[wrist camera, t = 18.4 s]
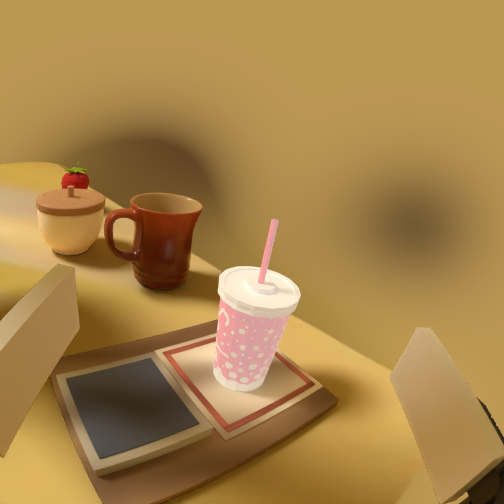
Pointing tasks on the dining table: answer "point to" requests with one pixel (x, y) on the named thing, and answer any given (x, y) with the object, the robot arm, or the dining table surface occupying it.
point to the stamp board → (175, 414)
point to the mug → (158, 237)
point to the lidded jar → (70, 219)
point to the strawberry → (75, 179)
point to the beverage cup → (251, 320)
